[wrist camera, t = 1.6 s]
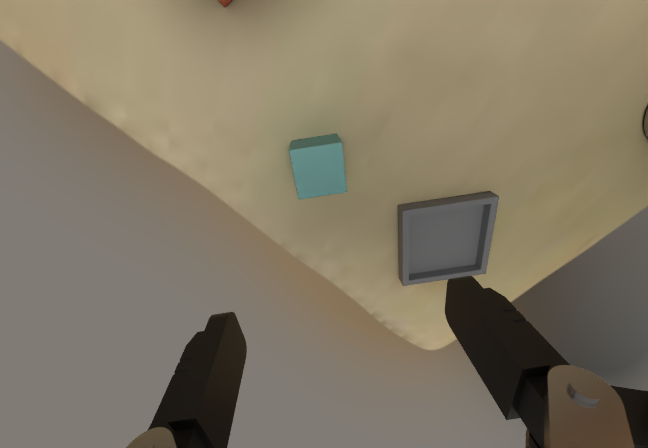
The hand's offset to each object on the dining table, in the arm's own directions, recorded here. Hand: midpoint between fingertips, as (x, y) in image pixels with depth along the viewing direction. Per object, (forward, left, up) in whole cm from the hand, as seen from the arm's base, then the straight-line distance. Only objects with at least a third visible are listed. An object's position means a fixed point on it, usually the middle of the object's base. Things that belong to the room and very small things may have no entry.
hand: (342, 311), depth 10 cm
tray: (-15, +13, -23) cm, 31 cm away
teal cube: (0, 0, -23) cm, 23 cm away
